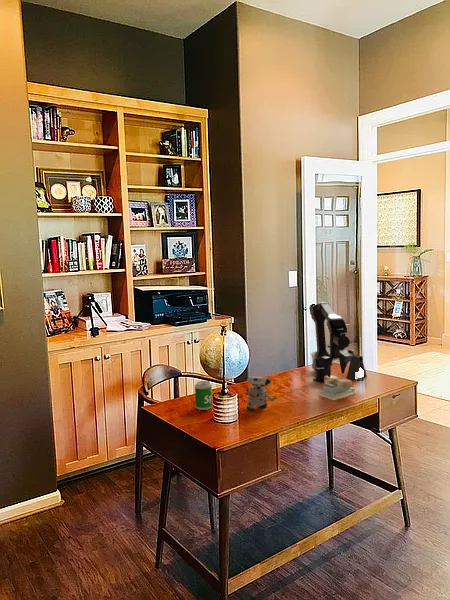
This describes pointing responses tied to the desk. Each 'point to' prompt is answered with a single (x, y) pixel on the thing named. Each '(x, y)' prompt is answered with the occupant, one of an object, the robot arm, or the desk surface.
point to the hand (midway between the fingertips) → (336, 375)
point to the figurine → (257, 392)
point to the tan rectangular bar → (338, 381)
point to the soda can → (203, 395)
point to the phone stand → (355, 366)
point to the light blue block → (333, 388)
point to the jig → (337, 394)
